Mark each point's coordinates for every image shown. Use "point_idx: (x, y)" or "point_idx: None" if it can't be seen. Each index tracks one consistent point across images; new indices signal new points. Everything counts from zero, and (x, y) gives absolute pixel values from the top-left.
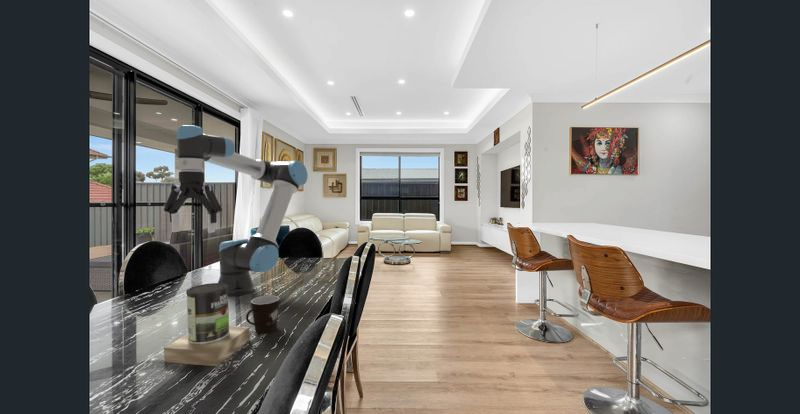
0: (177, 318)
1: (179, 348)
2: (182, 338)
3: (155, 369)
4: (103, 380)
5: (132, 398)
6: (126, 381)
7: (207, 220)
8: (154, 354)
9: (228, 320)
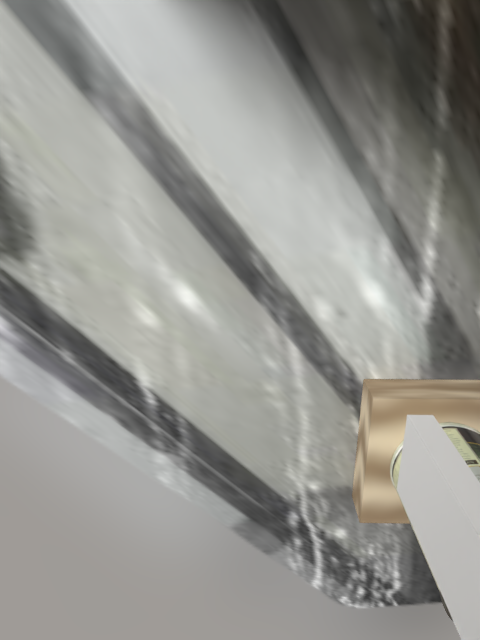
0: (163, 261)
1: (402, 522)
2: (371, 480)
3: (354, 519)
4: (282, 556)
5: (386, 589)
6: (330, 555)
7: (455, 624)
8: (298, 470)
9: None
